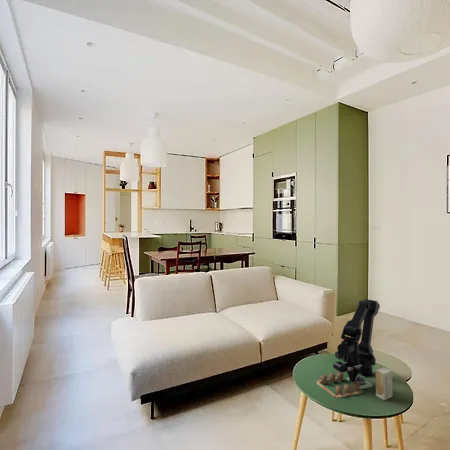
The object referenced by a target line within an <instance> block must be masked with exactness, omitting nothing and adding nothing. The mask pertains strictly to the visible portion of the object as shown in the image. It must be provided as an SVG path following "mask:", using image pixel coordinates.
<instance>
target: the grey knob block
mask: <svg viewBox="0 0 450 450" xmlns="http://www.w3.org/2000/svg"><path fill="white" fill-rule="evenodd" d="M365 381H366V379H364V378H363V377H361V376H359V375H357V377H356V379H355V380H354V382H357V383H359V384H360V386H361V385H366V384H365ZM350 383H351V384H352V385H353V382H351V381H350Z"/></svg>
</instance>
